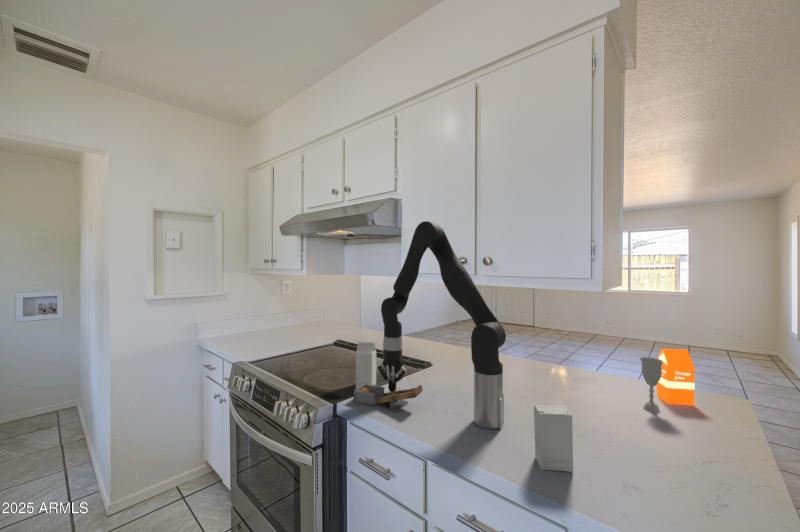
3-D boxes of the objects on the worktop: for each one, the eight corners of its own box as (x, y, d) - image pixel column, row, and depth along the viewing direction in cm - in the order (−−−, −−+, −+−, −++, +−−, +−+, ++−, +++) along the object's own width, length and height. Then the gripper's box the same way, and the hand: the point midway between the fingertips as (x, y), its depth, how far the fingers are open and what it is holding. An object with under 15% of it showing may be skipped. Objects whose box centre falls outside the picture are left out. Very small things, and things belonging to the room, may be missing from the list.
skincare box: (566, 460, 89) (566, 404, 89) (574, 474, 83) (574, 414, 83) (533, 457, 91) (533, 402, 90) (538, 470, 85) (538, 412, 85)
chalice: (642, 403, 125) (642, 356, 125) (664, 409, 121) (665, 359, 121) (637, 409, 120) (638, 360, 120) (661, 415, 116) (661, 364, 115)
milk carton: (371, 390, 139) (371, 344, 139) (355, 388, 140) (355, 343, 140) (376, 384, 146) (376, 341, 146) (360, 382, 147) (360, 340, 147)
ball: (371, 395, 130) (370, 386, 130) (366, 399, 127) (365, 389, 127) (364, 395, 131) (362, 386, 132) (359, 398, 128) (358, 389, 129)
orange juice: (694, 405, 124) (694, 352, 124) (667, 403, 126) (667, 351, 126) (681, 397, 132) (681, 347, 131) (656, 395, 133) (656, 346, 133)
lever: (428, 386, 126) (426, 380, 127) (416, 397, 116) (414, 390, 116) (391, 392, 134) (389, 386, 134) (377, 403, 123) (375, 396, 124)
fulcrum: (408, 402, 126) (408, 395, 126) (397, 412, 118) (397, 404, 118) (396, 400, 128) (396, 393, 128) (385, 409, 120) (385, 401, 120)
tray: (384, 398, 130) (384, 387, 130) (373, 406, 123) (373, 394, 123) (364, 394, 134) (364, 383, 134) (353, 401, 127) (353, 390, 127)
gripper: (411, 347, 131) (411, 390, 132) (382, 343, 137) (382, 385, 138) (403, 351, 125) (403, 397, 125) (373, 347, 131) (373, 391, 131)
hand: (392, 391), depth 131 cm, fingers closed
